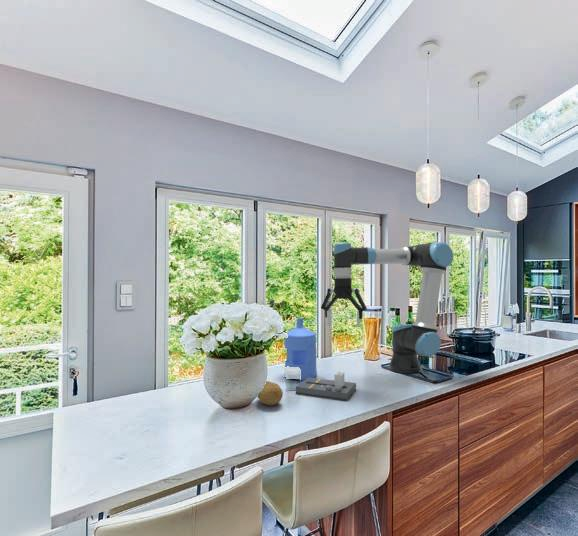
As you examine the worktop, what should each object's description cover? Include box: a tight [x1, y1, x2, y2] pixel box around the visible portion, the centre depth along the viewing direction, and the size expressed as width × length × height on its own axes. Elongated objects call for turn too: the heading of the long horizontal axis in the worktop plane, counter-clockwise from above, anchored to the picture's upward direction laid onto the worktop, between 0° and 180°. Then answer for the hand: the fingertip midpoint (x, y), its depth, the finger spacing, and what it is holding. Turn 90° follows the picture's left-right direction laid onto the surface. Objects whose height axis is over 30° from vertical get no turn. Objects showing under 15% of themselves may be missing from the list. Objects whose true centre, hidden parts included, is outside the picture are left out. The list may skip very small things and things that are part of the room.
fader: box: [334, 371, 346, 388], centre depth 150 cm, size 3×4×7 cm
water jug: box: [283, 317, 318, 381], centre depth 176 cm, size 16×16×28 cm
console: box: [295, 377, 357, 402], centre depth 153 cm, size 22×14×4 cm, turn 65°
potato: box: [256, 380, 284, 406], centre depth 140 cm, size 10×14×8 cm
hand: (343, 325), depth 159 cm, fingers open, 13 cm apart
